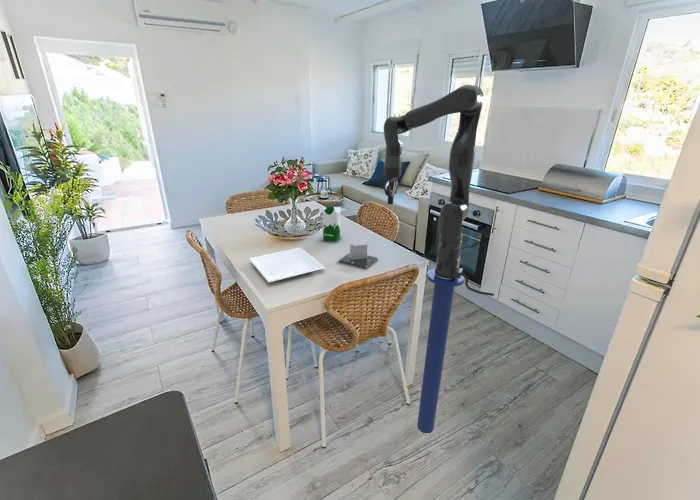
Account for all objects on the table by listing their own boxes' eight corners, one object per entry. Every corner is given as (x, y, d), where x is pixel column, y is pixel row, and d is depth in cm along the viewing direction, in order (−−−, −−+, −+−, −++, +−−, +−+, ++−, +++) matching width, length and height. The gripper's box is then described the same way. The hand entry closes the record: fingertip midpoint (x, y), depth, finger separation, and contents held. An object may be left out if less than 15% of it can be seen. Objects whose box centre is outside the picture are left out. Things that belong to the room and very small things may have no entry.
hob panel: (377, 260, 167) (377, 257, 166) (365, 269, 157) (365, 266, 156) (351, 254, 173) (351, 251, 172) (338, 263, 163) (338, 259, 162)
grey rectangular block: (365, 257, 166) (366, 243, 163) (366, 258, 164) (367, 244, 162) (349, 258, 164) (350, 244, 161) (350, 260, 162) (350, 245, 160)
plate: (325, 271, 154) (325, 267, 153) (268, 286, 141) (268, 281, 140) (300, 250, 174) (300, 246, 173) (249, 262, 161) (248, 258, 160)
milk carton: (321, 241, 188) (320, 206, 180) (327, 236, 196) (327, 201, 188) (336, 244, 186) (336, 207, 178) (342, 238, 194) (342, 203, 186)
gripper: (394, 168, 145) (392, 208, 152) (406, 164, 156) (403, 202, 163) (378, 166, 149) (376, 206, 155) (390, 163, 160) (388, 200, 166)
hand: (390, 204), depth 159 cm, fingers closed
